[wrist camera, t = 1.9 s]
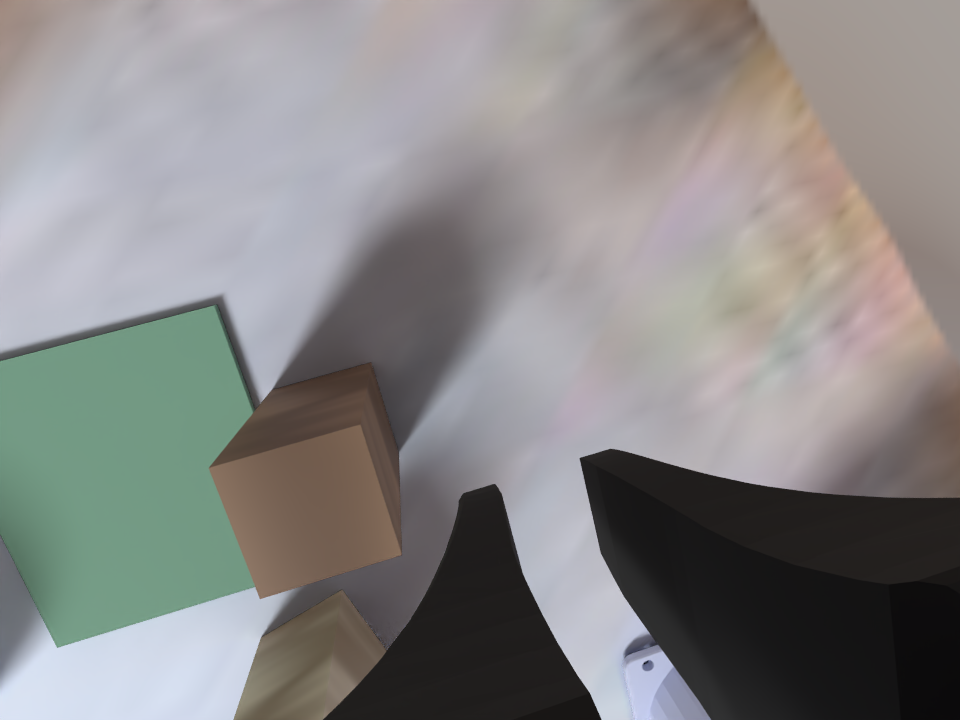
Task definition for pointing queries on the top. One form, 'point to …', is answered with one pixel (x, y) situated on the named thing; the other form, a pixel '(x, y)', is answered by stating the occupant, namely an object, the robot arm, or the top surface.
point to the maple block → (310, 663)
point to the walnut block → (313, 482)
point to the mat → (121, 473)
